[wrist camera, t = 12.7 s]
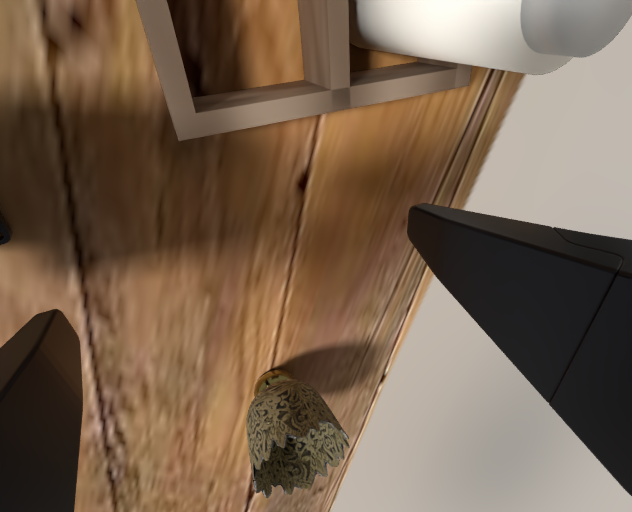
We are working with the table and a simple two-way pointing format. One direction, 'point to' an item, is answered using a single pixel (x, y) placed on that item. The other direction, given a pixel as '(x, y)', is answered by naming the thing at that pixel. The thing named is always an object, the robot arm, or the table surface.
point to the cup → (290, 434)
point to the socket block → (293, 97)
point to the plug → (489, 30)
